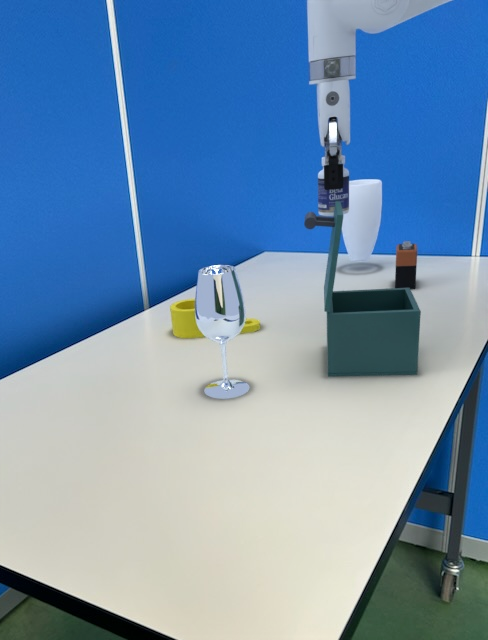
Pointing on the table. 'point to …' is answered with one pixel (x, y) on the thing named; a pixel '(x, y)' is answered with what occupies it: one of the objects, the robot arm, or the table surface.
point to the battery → (406, 265)
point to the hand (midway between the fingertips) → (333, 185)
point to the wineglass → (220, 319)
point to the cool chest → (373, 333)
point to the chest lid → (336, 225)
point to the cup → (362, 218)
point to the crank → (186, 320)
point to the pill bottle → (333, 193)
